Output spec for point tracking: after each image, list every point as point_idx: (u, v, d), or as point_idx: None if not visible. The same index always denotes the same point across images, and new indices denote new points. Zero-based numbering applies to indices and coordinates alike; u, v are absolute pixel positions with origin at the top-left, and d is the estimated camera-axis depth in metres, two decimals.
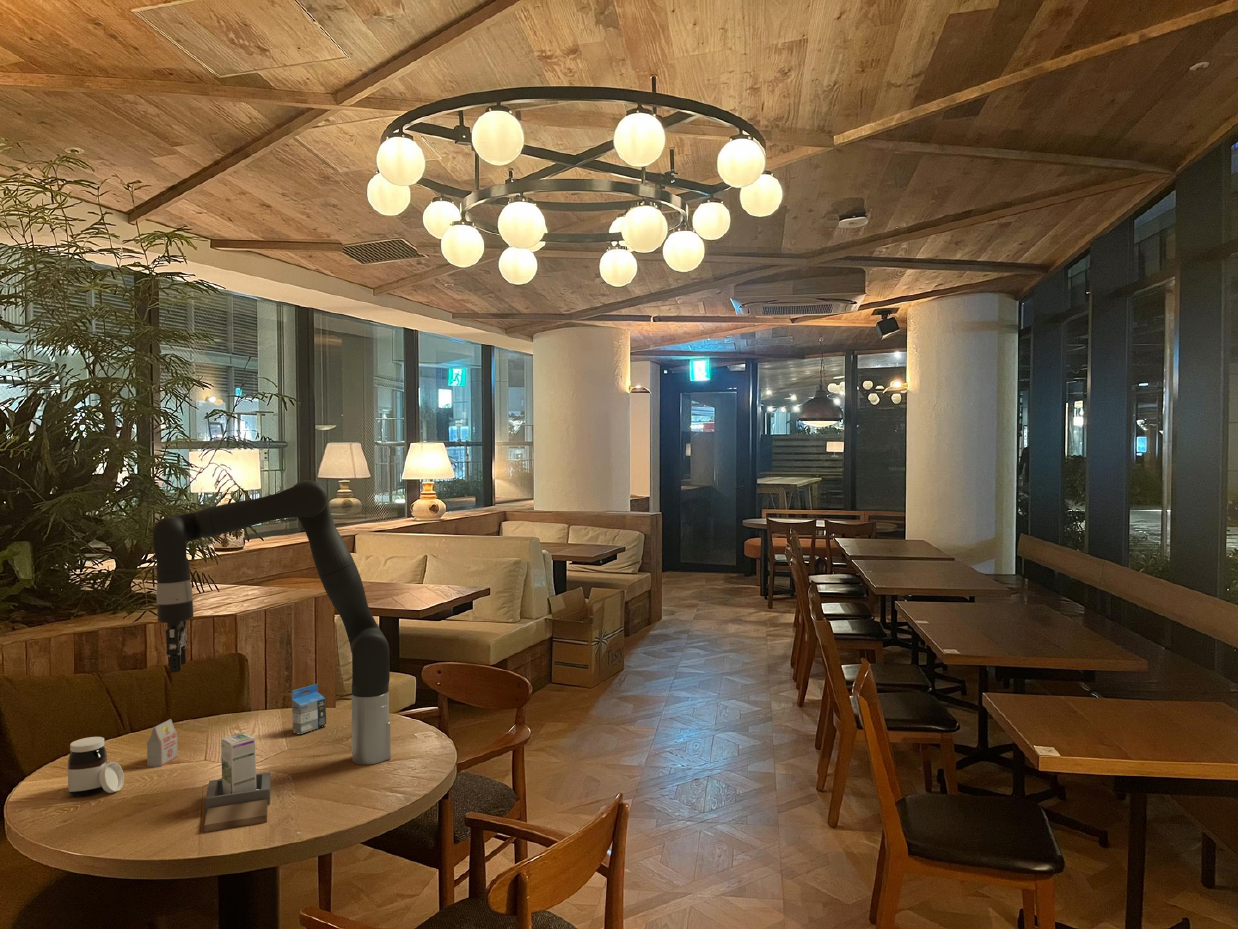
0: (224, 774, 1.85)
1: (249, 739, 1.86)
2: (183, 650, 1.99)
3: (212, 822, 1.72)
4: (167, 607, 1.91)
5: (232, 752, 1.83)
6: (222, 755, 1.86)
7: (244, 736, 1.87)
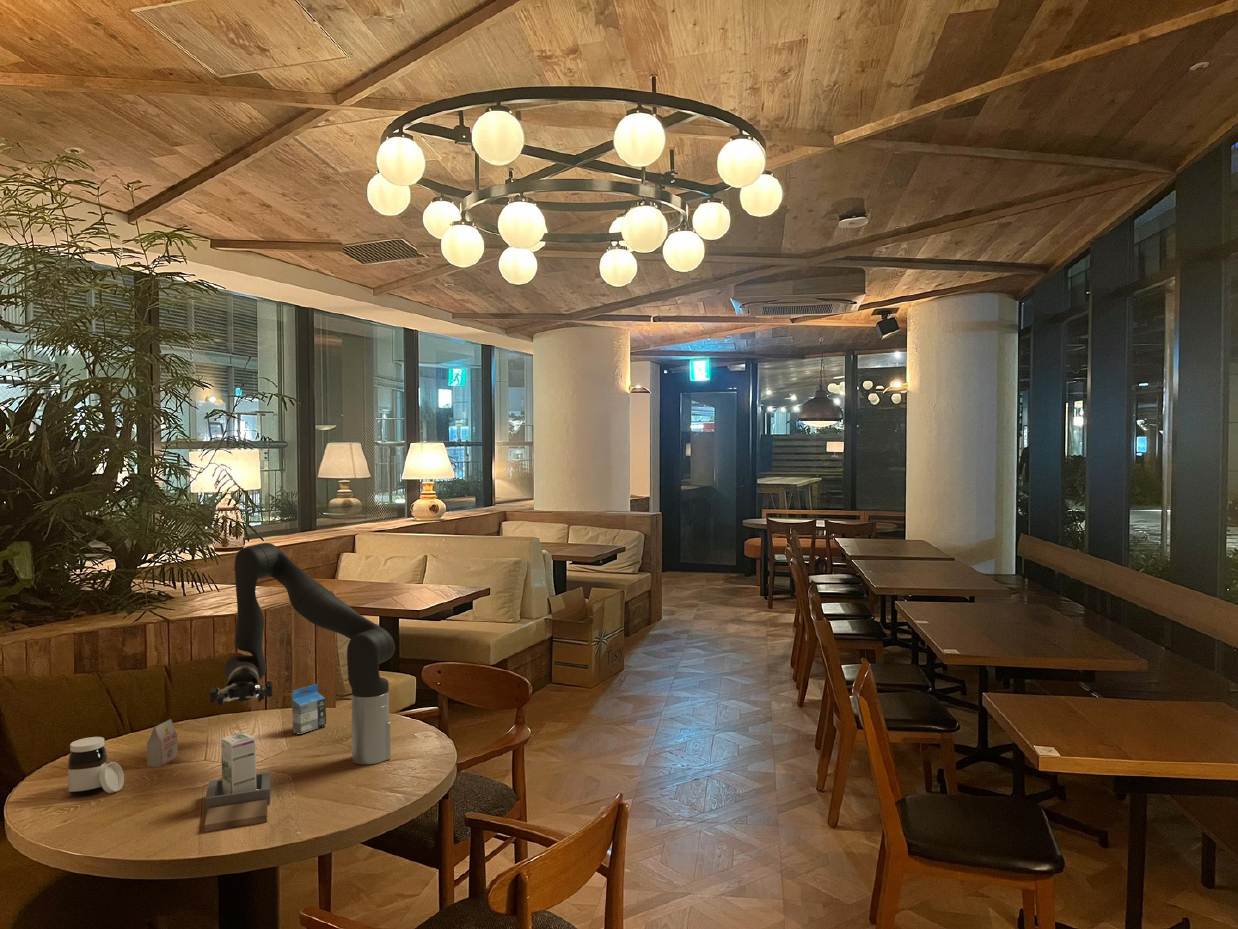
0: (224, 774, 1.85)
1: (249, 739, 1.86)
2: (258, 691, 2.03)
3: (212, 822, 1.72)
4: None
5: (232, 752, 1.83)
6: (222, 755, 1.86)
7: (244, 736, 1.87)
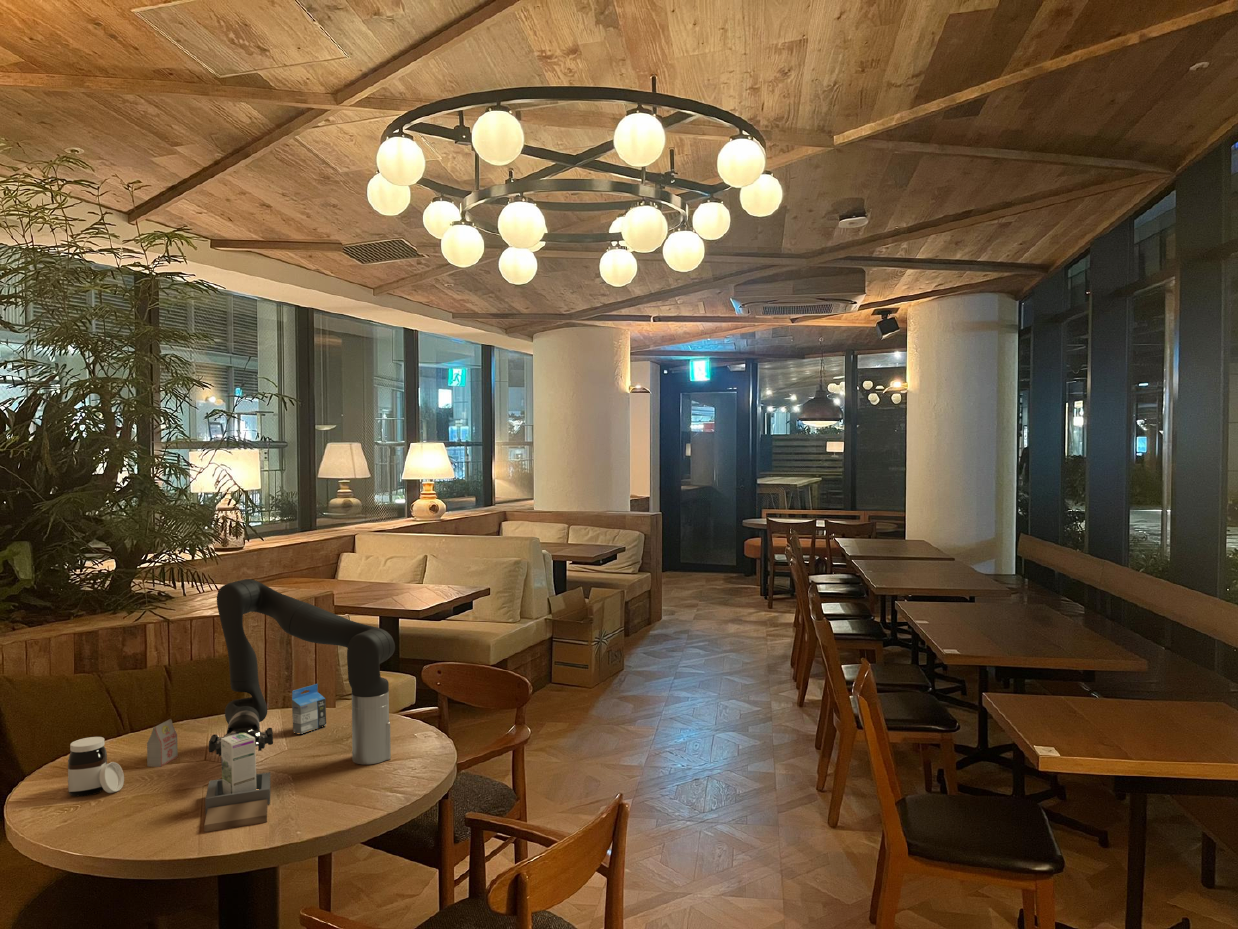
0: (224, 774, 1.85)
1: (249, 739, 1.86)
2: (258, 739, 1.99)
3: (212, 822, 1.72)
4: None
5: (232, 752, 1.83)
6: (222, 755, 1.86)
7: (244, 736, 1.87)
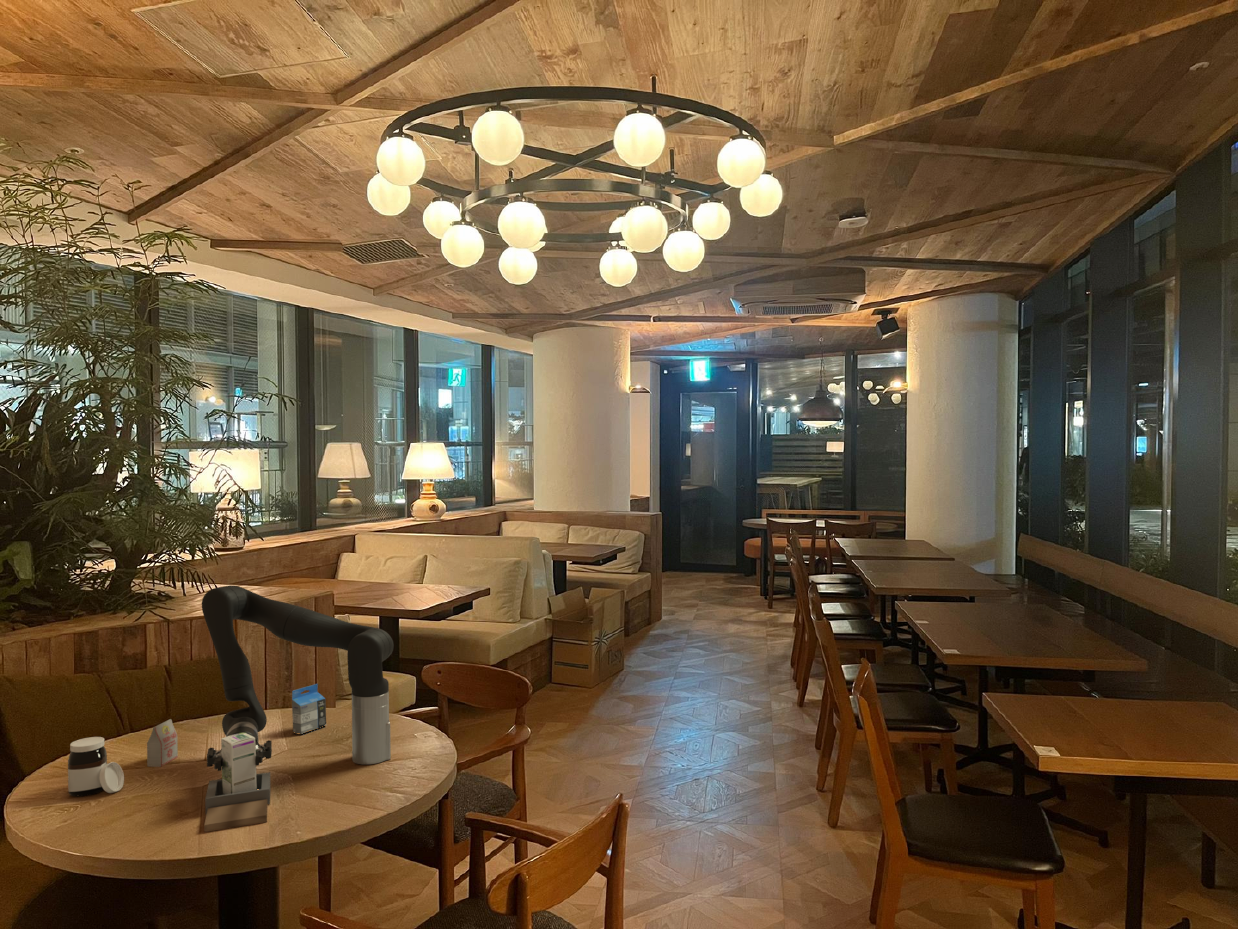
0: (224, 774, 1.85)
1: (249, 739, 1.86)
2: None
3: (212, 822, 1.72)
4: None
5: (232, 751, 1.83)
6: (222, 755, 1.86)
7: (244, 736, 1.87)
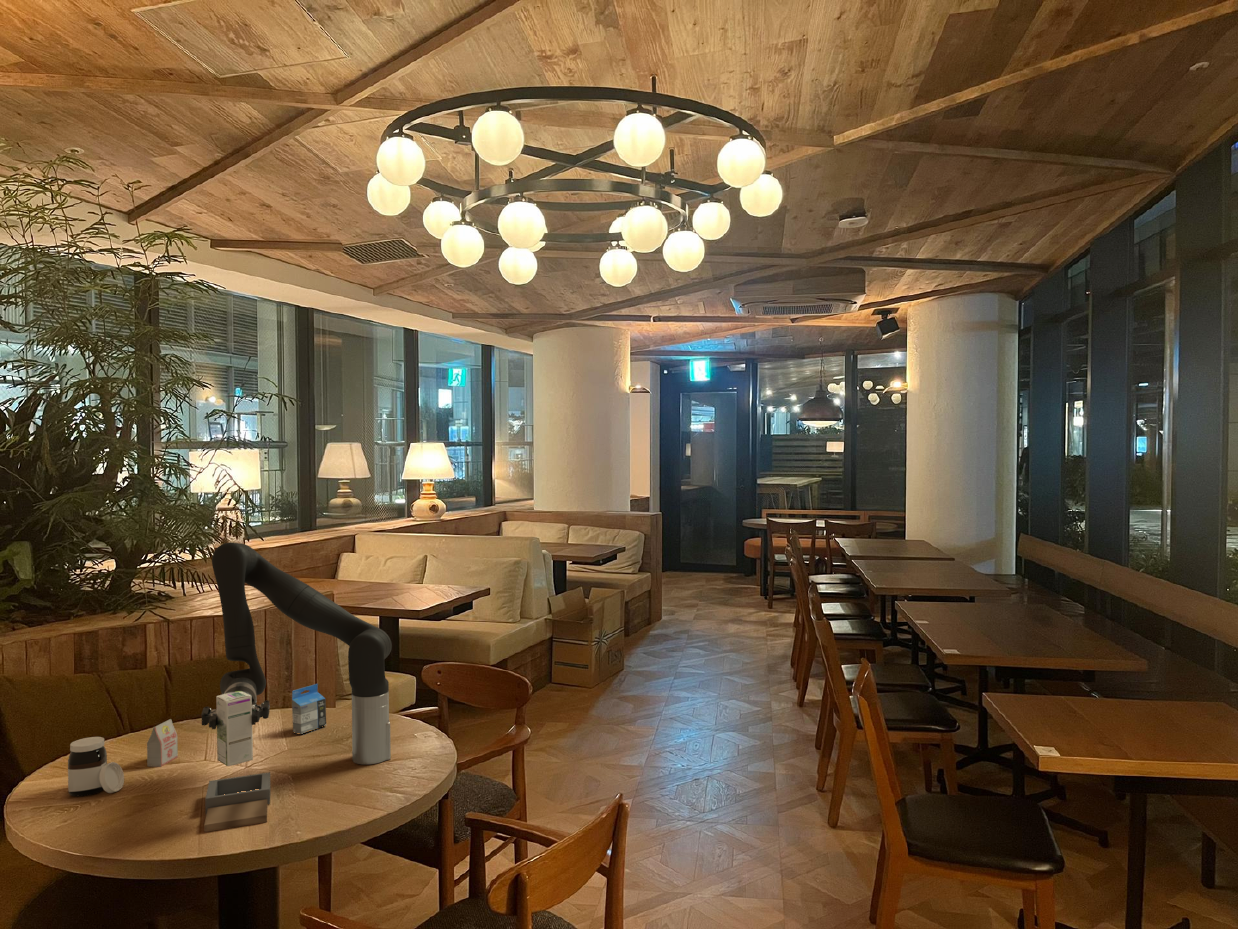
0: (219, 733, 1.78)
1: (245, 697, 1.78)
2: None
3: (212, 822, 1.72)
4: None
5: (227, 709, 1.75)
6: (217, 713, 1.78)
7: (240, 694, 1.80)
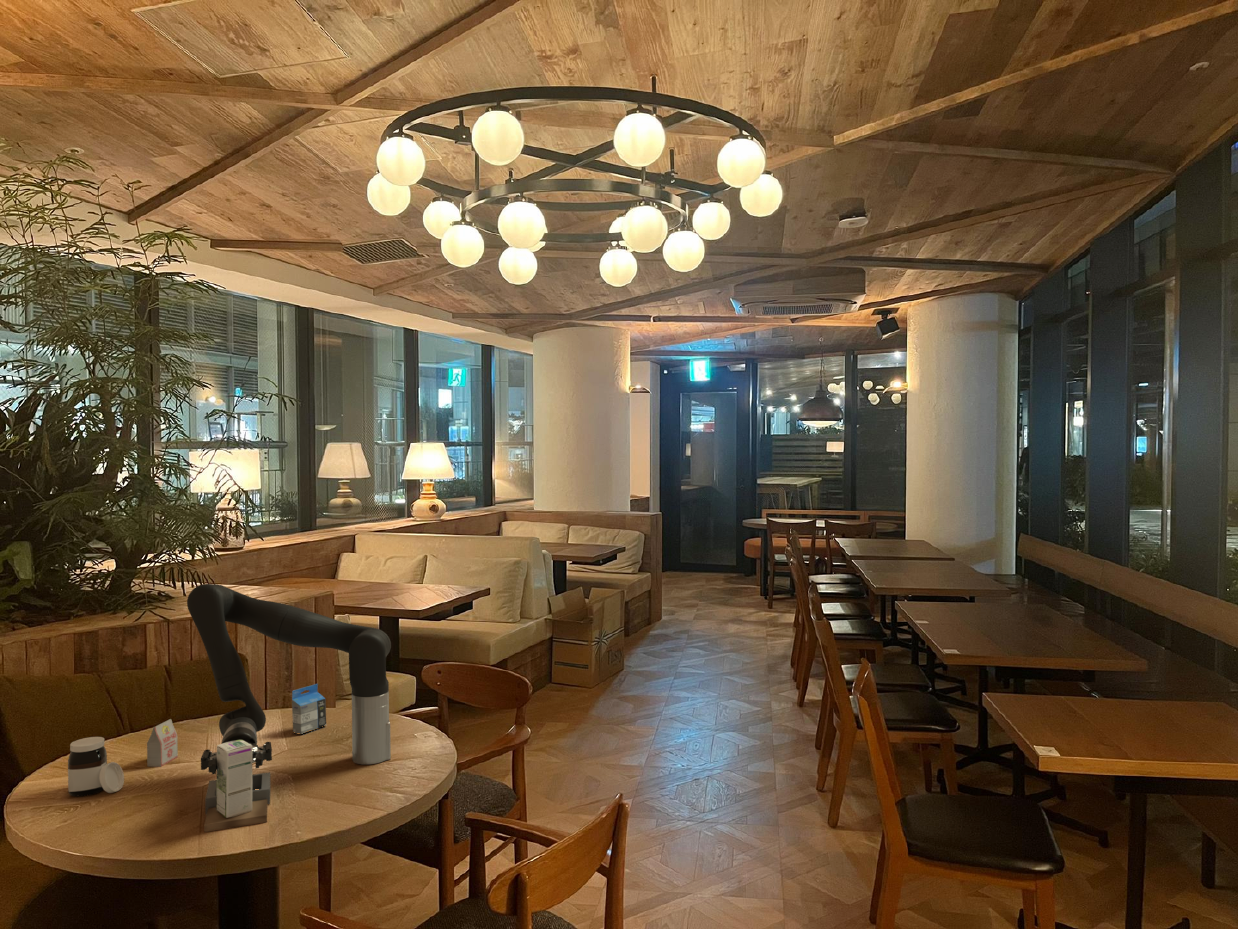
0: (219, 783, 1.76)
1: (246, 747, 1.76)
2: (255, 755, 1.80)
3: (212, 822, 1.72)
4: None
5: (228, 759, 1.73)
6: (217, 763, 1.76)
7: (241, 743, 1.78)
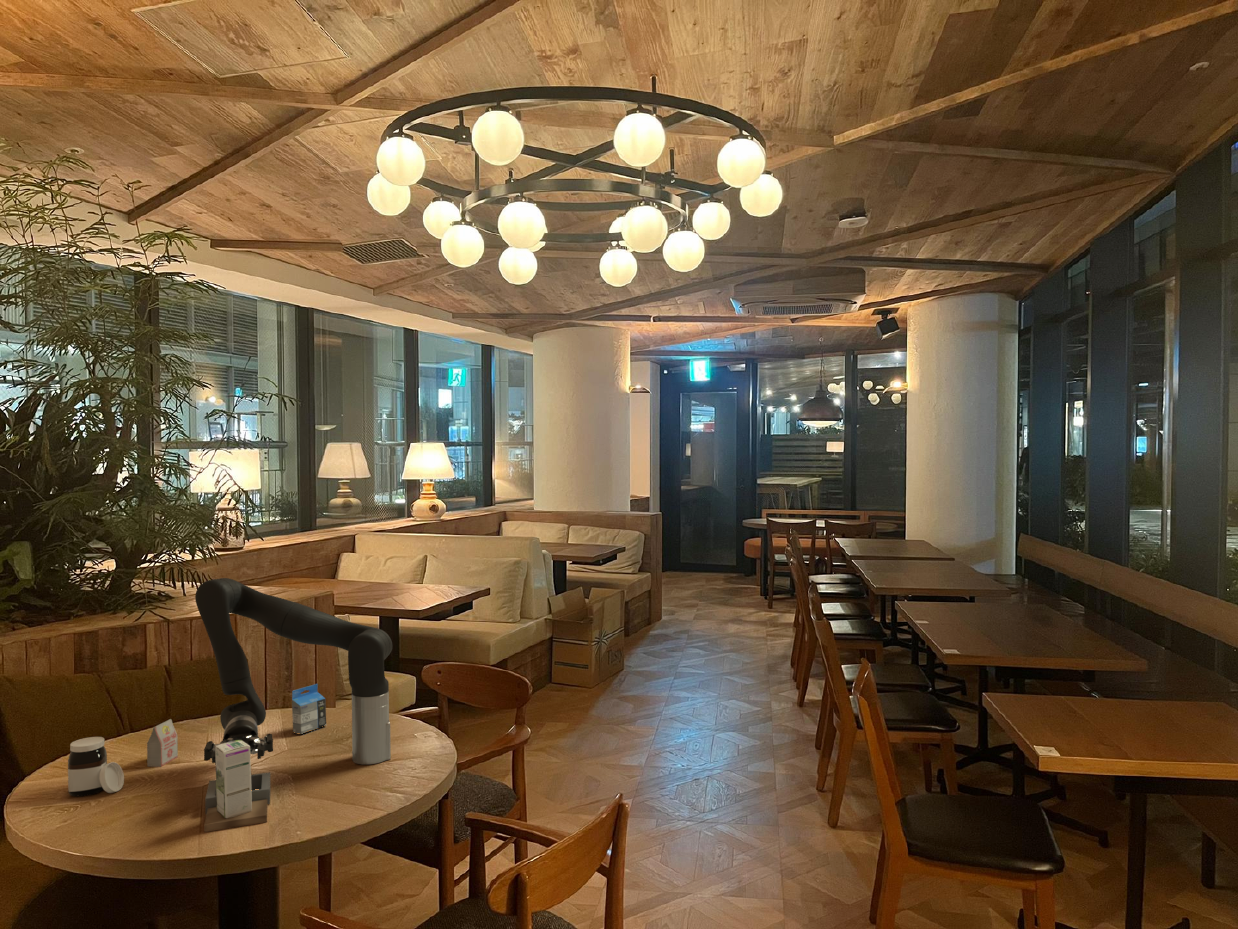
0: (218, 784, 1.76)
1: (244, 747, 1.76)
2: (257, 746, 1.85)
3: (212, 822, 1.72)
4: None
5: (225, 760, 1.73)
6: (216, 763, 1.76)
7: (239, 744, 1.77)
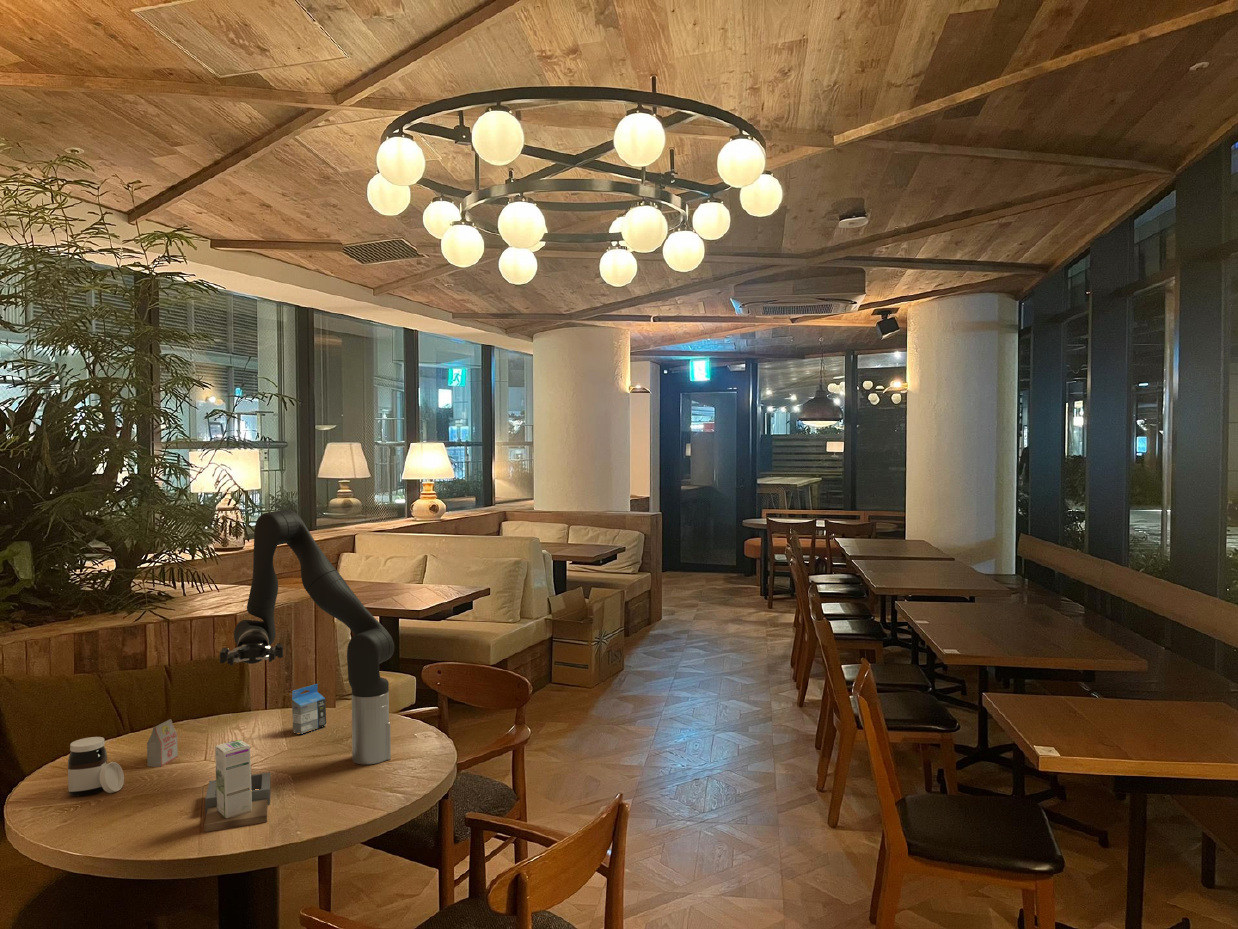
0: (218, 784, 1.76)
1: (243, 747, 1.76)
2: (268, 651, 2.01)
3: (212, 822, 1.72)
4: None
5: (225, 760, 1.73)
6: (216, 763, 1.76)
7: (239, 744, 1.77)
